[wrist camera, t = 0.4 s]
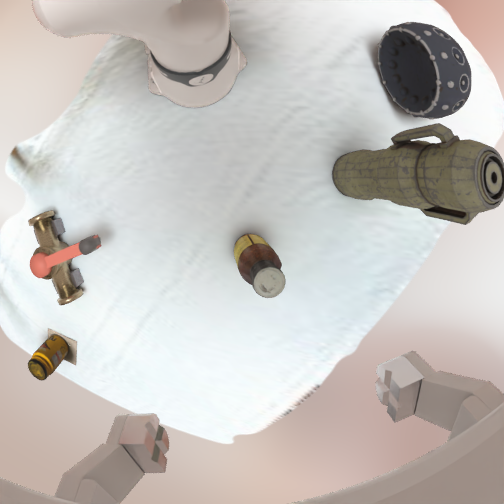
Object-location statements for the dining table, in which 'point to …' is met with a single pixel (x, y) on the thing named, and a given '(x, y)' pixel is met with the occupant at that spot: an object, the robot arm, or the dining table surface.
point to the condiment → (52, 355)
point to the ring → (424, 70)
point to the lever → (62, 256)
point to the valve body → (50, 244)
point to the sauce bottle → (259, 265)
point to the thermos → (426, 174)
